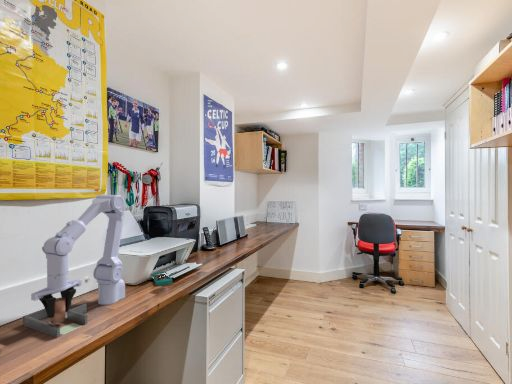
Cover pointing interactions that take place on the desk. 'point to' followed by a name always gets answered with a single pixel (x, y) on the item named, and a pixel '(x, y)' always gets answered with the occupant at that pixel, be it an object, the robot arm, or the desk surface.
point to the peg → (59, 311)
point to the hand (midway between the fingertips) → (58, 313)
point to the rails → (36, 324)
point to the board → (68, 327)
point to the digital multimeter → (161, 279)
